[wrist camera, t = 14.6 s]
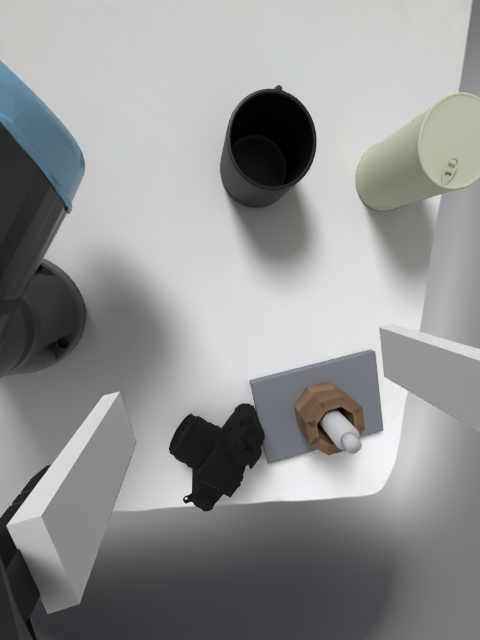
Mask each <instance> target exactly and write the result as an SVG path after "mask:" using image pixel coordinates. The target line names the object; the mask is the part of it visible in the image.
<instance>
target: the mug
mask: <svg viewBox="0 0 480 640" xmlns="http://www.w3.org/2000/svg"><path fill="white" fill-rule="evenodd" d="M315 152H316V131H315V127H314V123H313V121H312V118H311V116H310V114H309V112H308V111H307V109H306V108H305V106H304V105H303V104H302V103H301V102H300V101H299V100H298V99H297V98H295V97H294V96H292V95H291V94H289V93H287V92H285V91H282V87H281V86H280V85H278V86H276V87H275V89H263V90H259V91H256V92H254V93H252V94H250V95H248V96H247V97H246V98H244V99H243V100H242V101H241V102H240V103H239V104H238V105H237V107H236V108H235V110H234V111H233V113H232V115H231V118H230V120H229V124H228V127H227V132H226V137H225V142H224V147H223V152H222V156H221V163H220V173H221V178H222V181H223V184H224V186H225V188H226V190H227V191H228V193H229V194H230V195H231V196H232V197H233V198H234V199H235V200H236V201H237V202H239V203H241V204H243V205H245V206H248V207H254V208H260V207H265V206H268V205H270V204H272V203H274V202H275V201H277V200H278V199H279V198H280V197H281V196H283V195H284V194H285V193H286V192H287V191H289V190H290V189H291V188H292V187H293V186H294V185H296V184H297V183H298V182H299V181H300V180H301V179H302V178H303V177H304V176H305V175H306V173H307V172H308V170H309V169H310V167H311V165H312V162H313V159H314V156H315Z"/></svg>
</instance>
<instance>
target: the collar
mask: <svg viewBox="0 0 480 640" xmlns="http://www.w3.org/2000/svg"><path fill="white" fill-rule="evenodd" d="M335 408H338V411H339V412H340V413H341V414H342V415H343V416H344V417H345V418H346V419H347V420H348V421H349V422H350V423H351V424H352V425H353V426H354V427H355V428H356V429H357V430H358V432H359V434H360V436H361V434H362V433H363V431H364V430H365V423H364V415H363V407H362V406H361V405H359V404H358V403H357V402H356V401H355V400H354V399H352V398H351V397H350V396H349V395H348V394H346V393H345V392H344V391H342V390H341V389H339V388H338V387H336V386H334V385H333V384H331V383H329V382H328V381H327V382H323V383H320V384H316V385H312V386H308V387H306V388H305V390H304V391H303V393H302V394H301V396H300V397H299V398H298V400H297V401H296V403H295V404H294V410H295V415H296V421H297V426H298V427H299V429H300V430H301V432H302V434H303V435H304V437H305V438H306V440H307V442H308V443H309V445H311V446H312V447H314V448H316V449H318V450H320V451H322V452H324V453H325V454H327V455H331V454H334V453H338V452H341V451H343V450H340V449H339V448H338V447H337V446H336V445H335V443H334V442H333V441H332V440H331V438H330V437H329V436H328V434H327V433H326V432H325V431H324V429H323V428H322V427H321V425H317V423H318V422H319V420H320V419H321V418H322V416H323V415H324V413H325V412H326V411H328V410H332V409H335Z"/></svg>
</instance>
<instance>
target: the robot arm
mask: <svg viewBox="0 0 480 640" xmlns="http://www.w3.org/2000/svg"><path fill="white" fill-rule="evenodd" d="M84 173H85V161H84V157H83V153H82V151H81V149H80V148H79V146H78V144H77V142H76V140H75V139H74V137H73V136H72V135H71V133H70V132H69V131H68V129H67V128H66V127H65V126H64V124H63V123H62V122H61V121H60V120H59V119H58V118H57V116H56V115H55V114H54V113H53V112H52V111H51V110H50V109H49V108H48V107H47V106H46V104H45V103H44V102H43V101H42V100H41V99H40V98H39V97H38V96H37V95H36V94H35V93H34V92H33V91H32V90H31V89H30V88H29V87H28V86H27V85H26V84H25V83H24V82H23V81H22V80H21V79H20V78H19V77H18V76H16V75H15V74H14V73H13V72H12V71H11V70H10V69H9V68H8V67H7V66H6V65H5V64H4V63H3V62H2V61H1V60H0V377H2V376H4V375H13V374H22V373H30V372H34V371H38V370H41V369H44V368H46V367H49V366H50V365H52V364H54V363H56V362H57V361H59V360H60V359H62V358H63V357H65V356H66V355H67V354H68V353H70V352H71V351H72V350H73V348H74V347H75V346H76V345H77V343H78V341H79V340H80V338H81V336H82V333H83V330H84V326H85V307H84V303H83V299H82V297H81V294H80V292H79V290H78V288H77V287H76V285H75V283H74V282H73V281H72V280H71V278H70V277H69V276H68V275H67V274H66V273H65V272H64V271H63V270H62V269H60V268H59V267H58V266H56V265H55V264H53V263H51V262H50V261H48V260H46V259H43V258H44V256H45V254H46V252H47V250H48V248H49V246H50V245H51V243H52V241H53V239H54V237H55V235H56V233H57V231H58V229H59V227H60V226H61V224H62V222H63V220H64V218H65V216H66V214H70V212H71V210H72V200H73V198H74V196H75V194H76V191H77V189H78V187H79V185H80V182H81V180H82V178H83V176H84ZM379 328H380V338H381V348H382V359H383V369H384V377H386V378H388V379H389V380H391V381H393V382H394V383H396V384H398V385H399V386H401V387H403V388H405V389H406V390H408V391H410V392H411V393H413V394H415V395H416V396H418V397H420V398H422V399H423V400H425V401H427V402H429V403H430V404H432V405H433V406H435V407H437V408H439V409H440V410H442V411H444V412H445V413H447V414H449V415H450V416H452V417H454V418H456V419H457V420H459V421H461V422H462V423H464V424H466V425H467V426H469V427H471V428H472V429H474V430H476V431H478V432H479V433H480V349H477V348H473V347H470V346H467V345H463V344H460V343H456V342H453V341H449V340H446V339H442V338H439V337H436V336H432V335H429V334H425V333H422V332H419V331H415V330H412V329H408V328H405V327H401V326H398V325H395V324H391V325H387V326H383V327H379ZM135 445H136V440H135V437H134V433H133V430H132V427H131V424H130V421H129V418H128V415H127V412H126V409H125V405H124V402H123V399H122V396H121V393H120V392H116V393H112V394H107V395H103V396H102V398H101V399H100V401H99V402H98V403H97V405H96V406H95V407H94V409H93V410H92V411H91V413H90V414H89V415H88V417H87V418H86V419H85V421H84V422H83V423H82V425H81V426H80V427H79V429H78V430H77V431H76V433H75V434H74V435H73V437H72V438H71V439H70V441H69V442H68V444H67V445H66V446H65V448H64V449H63V450H62V452H61V453H60V454H59V456H58V457H57V458H56V460H55V461H54V462H53V464H52V465H48V466H46V467H45V468H43V469H42V470H41V471H40V472H39V473H38V474H36V475H35V476H34V477H33V478H32V479H31V480H30V481H29V482H28V484H27V485H26V486H25V488H24V489H23V490H22V491H21V494H19V495H18V496H17V498H16V499H15V500H14V501H13V503H12V506H9V508H8V509H7V510H6V512H5V513H4V514H3V515H2V517H1V518H0V640H39V638H38V634H37V631H36V628H35V625H34V623H33V621H32V619H31V617H30V615H31V613H32V611H33V609H34V607H35V605H36V603H37V600H38V599H39V597H40V599H41V601H42V603H43V605H44V607H45V609H46V611H47V613H48V614H50V613H53V612H56V611H59V610H62V609H65V608H68V607H71V606H75V605H78V604H79V603H80V601H81V598H82V595H83V592H84V589H85V587H86V584H87V581H88V578H89V575H90V572H91V569H92V567H93V564H94V561H95V558H96V555H97V553H98V550H99V547H100V544H101V541H102V538H103V536H104V533H105V530H106V527H107V524H108V522H109V519H110V516H111V513H112V510H113V508H114V505H115V502H116V499H117V496H118V493H119V491H120V488H121V485H122V482H123V479H124V476H125V474H126V471H127V468H128V465H129V462H130V460H131V457H132V454H133V451H134V448H135Z"/></svg>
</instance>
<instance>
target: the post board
mask: <svg viewBox="0 0 480 640" xmlns="http://www.w3.org/2000/svg"><path fill="white" fill-rule="evenodd" d="M327 381H328V382H329V383H331V384H333V385H334V386H336V387H338V388H339V389H341V390H342V391H344V392H345V393H346V394H348V395H349V396H350V397H351V398H352V399H354V400H355V401H356V402H357V403H358V404H359V405H361V406H362V407H363V415H364V423H365V430H364V431H363V433H362V434H361V436H360V434H359V432H358V430H357V429H356V428H355V427H354V426H353V425H352V424H351V423H350V422H349V421H348V420H347V419H346V418H345V417H344V416H343V415H342V414H341V413H340V412H339V411H338V408H335V409H332V410H328V411H326V412H325V413H324V415H323V416H322V418H321V419H320V420H319V422H318V423H317V425H321V427H322V428H323V429H324V431H325V432H326V433H327V434H328V436H329V437H330V438H331V440H332V441H333V442H334V443H335V445H336V446H337V447H338V448H339V449H340V450H343V451H348V452H349V453H356V452H358V451H359V450H360V448H361V442H360V440H359V439H360V437H362V436H365V435H369V434H372V433H376V432H379V431H383V423H382V413H381V403H380V394H379V384H378V374H377V364H376V355H375V351H372V350H367V351H363V352H359V353H355V354H351V355H347V356H343V357H340V358H336V359H332V360H328V361H324V362H320V363H316V364H312V365H308V366H304V367H300V368H296V369H292V370H288V371H285V372H281V373H277V374H273V375H269V376H265V377H261V378H257V379H253V380H250V384H251V389H252V394H253V398H254V403H255V408H256V413H257V416H258V419H259V421H260V423H261V426H262V428H263V430H264V435H265V439H264V441H263V446H264V451H265V456H266V460H267V462H268V463H272V462H275V461H279V460H282V459H286V458H289V457H293V456H296V455H299V454H303V453H306V452H310V451H313V450H317V449H316V448H314V447H312V446H311V445H309V443H308V442H307V440H306V438H305V437H304V435H303V434H302V432H301V430H300V429H299V427H298V426H297V421H296V415H295V410H294V404H295V403H296V401H297V400H298V398H299V397H300V396H301V394H302V393H303V391H304V390H305V388H306V387H308V386H312V385H316V384H320V383H323V382H327Z"/></svg>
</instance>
